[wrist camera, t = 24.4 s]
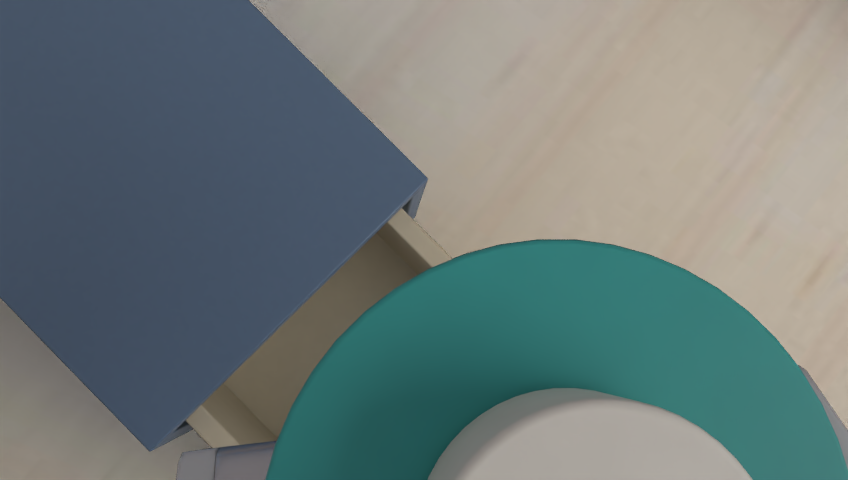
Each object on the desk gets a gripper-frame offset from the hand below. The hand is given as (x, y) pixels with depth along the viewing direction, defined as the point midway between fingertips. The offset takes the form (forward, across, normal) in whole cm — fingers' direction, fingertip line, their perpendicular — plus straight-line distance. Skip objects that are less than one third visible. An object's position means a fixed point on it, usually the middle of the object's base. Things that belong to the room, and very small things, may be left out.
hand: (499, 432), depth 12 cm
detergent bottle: (+4, 0, -5) cm, 6 cm away
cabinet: (+25, -10, -12) cm, 30 cm away
